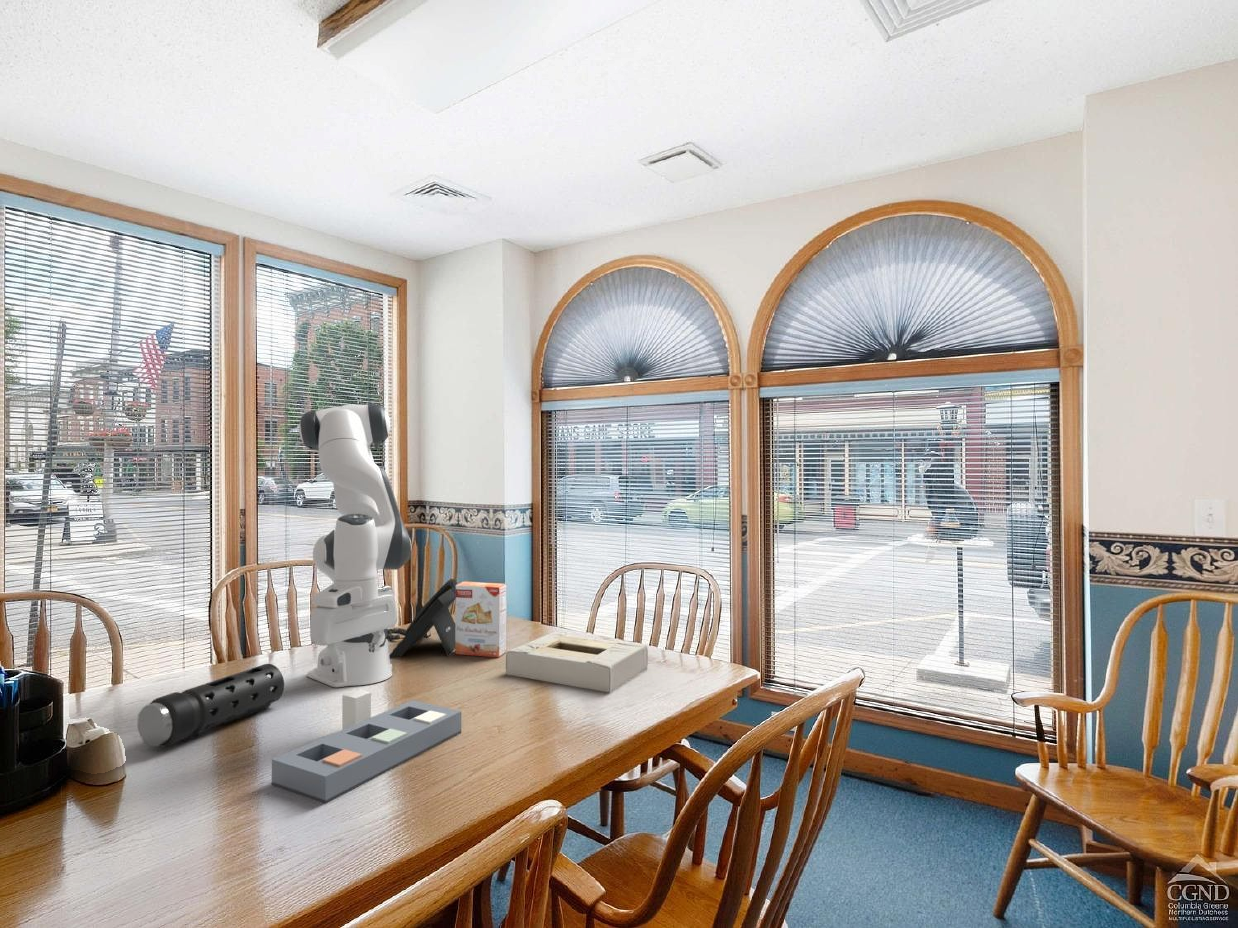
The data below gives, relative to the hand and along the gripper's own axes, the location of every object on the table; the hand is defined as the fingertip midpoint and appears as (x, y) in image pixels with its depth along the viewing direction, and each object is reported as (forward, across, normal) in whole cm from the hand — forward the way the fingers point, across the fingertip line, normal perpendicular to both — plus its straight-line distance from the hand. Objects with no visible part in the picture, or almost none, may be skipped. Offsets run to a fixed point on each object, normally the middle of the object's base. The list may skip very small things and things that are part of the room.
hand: (356, 656), depth 146 cm
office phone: (+15, -57, -40) cm, 71 cm away
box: (+17, -58, +19) cm, 63 cm away
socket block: (+16, +7, +12) cm, 21 cm away
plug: (+16, 0, 0) cm, 16 cm away
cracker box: (+15, -58, -15) cm, 62 cm away
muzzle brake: (+16, +13, -28) cm, 35 cm away
